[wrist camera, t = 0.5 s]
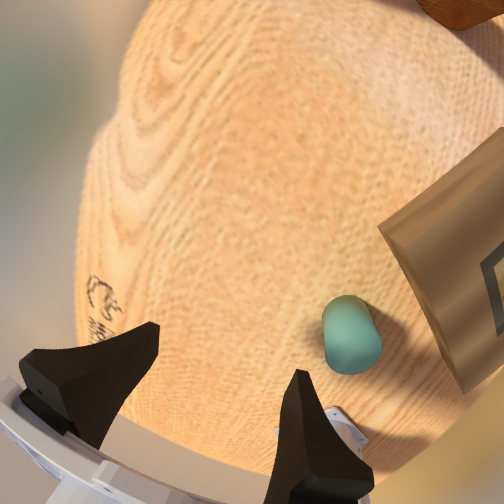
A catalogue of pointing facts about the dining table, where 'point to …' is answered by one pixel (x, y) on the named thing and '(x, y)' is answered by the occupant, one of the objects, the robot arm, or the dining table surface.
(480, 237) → the block
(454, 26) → the disposable coffee cup
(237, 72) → the dining table surface
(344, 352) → the peg
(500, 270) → the beige square pad
